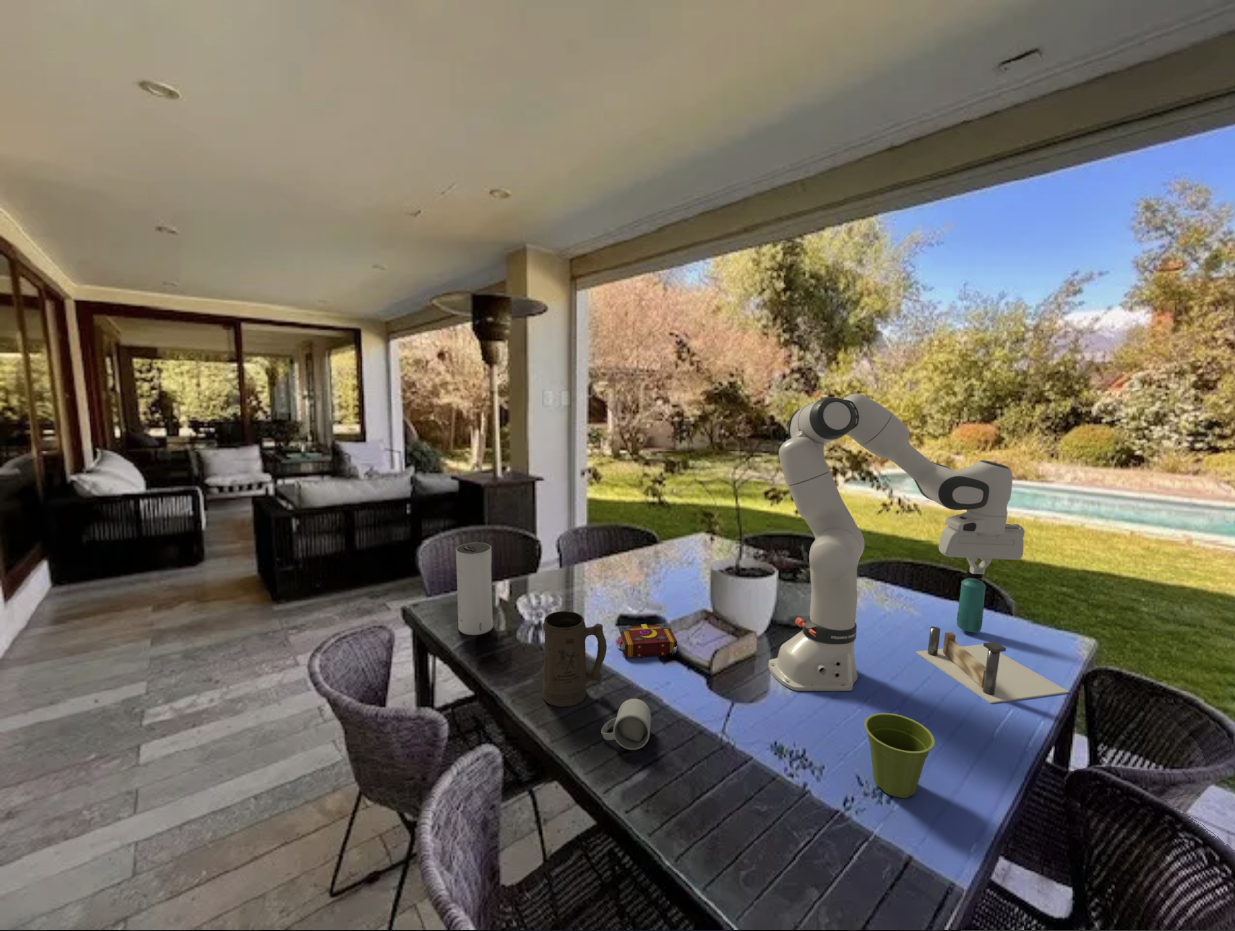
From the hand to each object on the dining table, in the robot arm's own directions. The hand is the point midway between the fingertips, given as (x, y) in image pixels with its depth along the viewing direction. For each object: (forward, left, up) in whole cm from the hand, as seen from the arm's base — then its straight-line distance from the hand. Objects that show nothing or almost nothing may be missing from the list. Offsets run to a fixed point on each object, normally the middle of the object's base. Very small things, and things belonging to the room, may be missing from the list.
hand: (976, 573), depth 146 cm
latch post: (-6, +5, -26) cm, 27 cm away
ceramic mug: (-98, -13, -26) cm, 102 cm away
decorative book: (-84, +25, -26) cm, 91 cm away
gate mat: (+2, -5, -26) cm, 26 cm away
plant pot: (-51, -36, -26) cm, 67 cm away
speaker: (-132, +46, -26) cm, 142 cm away
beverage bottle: (+15, +15, -26) cm, 34 cm away
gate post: (-7, -14, -26) cm, 30 cm away
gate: (-4, -4, -25) cm, 25 cm away
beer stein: (-107, +6, -26) cm, 110 cm away
